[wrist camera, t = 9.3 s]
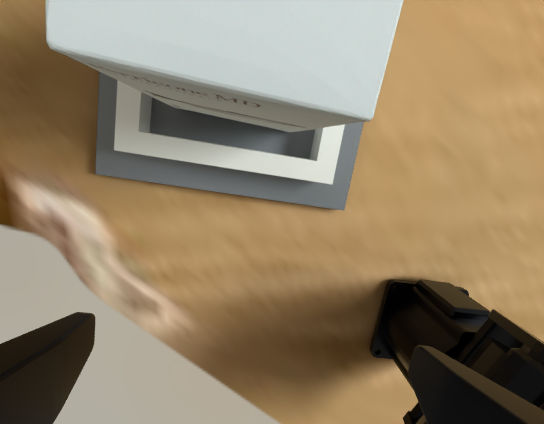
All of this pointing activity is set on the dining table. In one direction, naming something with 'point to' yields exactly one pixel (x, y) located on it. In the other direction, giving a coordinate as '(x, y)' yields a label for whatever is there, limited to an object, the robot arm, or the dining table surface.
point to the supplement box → (238, 54)
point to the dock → (220, 151)
